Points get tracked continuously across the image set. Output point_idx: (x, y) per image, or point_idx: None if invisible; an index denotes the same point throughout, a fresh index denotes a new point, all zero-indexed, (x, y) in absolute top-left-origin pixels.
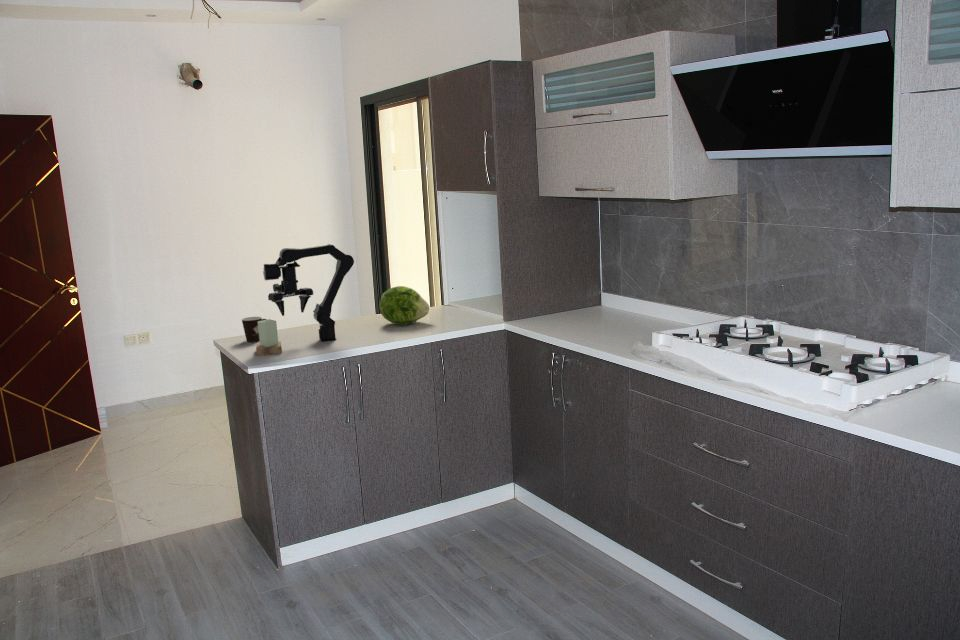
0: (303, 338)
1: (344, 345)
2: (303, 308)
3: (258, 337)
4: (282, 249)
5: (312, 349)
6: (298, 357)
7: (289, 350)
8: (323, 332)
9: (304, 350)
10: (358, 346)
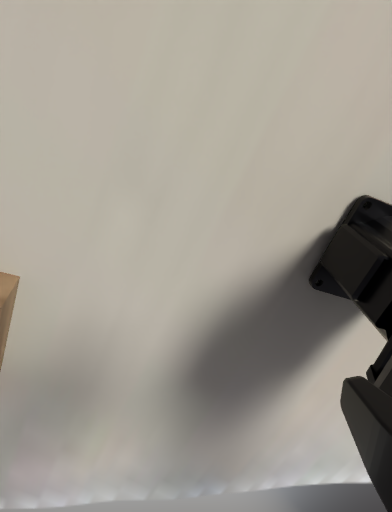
0: (292, 61)
1: (320, 422)
2: (386, 493)
3: None
4: None
5: (169, 409)
6: (54, 490)
7: (53, 361)
8: (360, 309)
9: (127, 405)
10: (341, 463)
